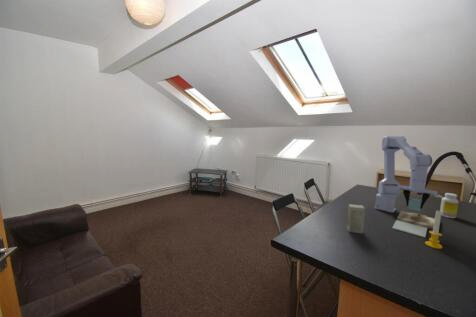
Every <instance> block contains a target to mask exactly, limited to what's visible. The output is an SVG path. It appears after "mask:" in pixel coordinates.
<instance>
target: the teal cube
mask: <svg viewBox="0 0 476 317" xmlns="http://www.w3.org/2000/svg"><path fill="white" fill-rule="evenodd" d="M421 203H422V199H417V198H412V197H409V203H408V206H407V209H408V210H411V211H417V212H421V209H420V207H421Z"/></svg>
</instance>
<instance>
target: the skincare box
mask: <svg viewBox="0 0 476 317" xmlns="http://www.w3.org/2000/svg"><path fill="white" fill-rule="evenodd" d="M365 211H366V208H365V207H364V205H361V204H351V203H350V204H349V203H348V208H347V220H346V221H347V223H346V224H347V226H346V228H347V232H350V233H355V234H364V228H365V213H366V212H365Z"/></svg>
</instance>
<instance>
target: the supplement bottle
mask: <svg viewBox="0 0 476 317" xmlns="http://www.w3.org/2000/svg"><path fill="white" fill-rule="evenodd" d="M457 197H458V194H455V193H452V192H451V193H450V192H445V193H444V197H441V202H440V209H439V211H441V217H445V218H448V219H455V218H457V214H458V209H459V208H458V207H459V200H458V199H457Z"/></svg>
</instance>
